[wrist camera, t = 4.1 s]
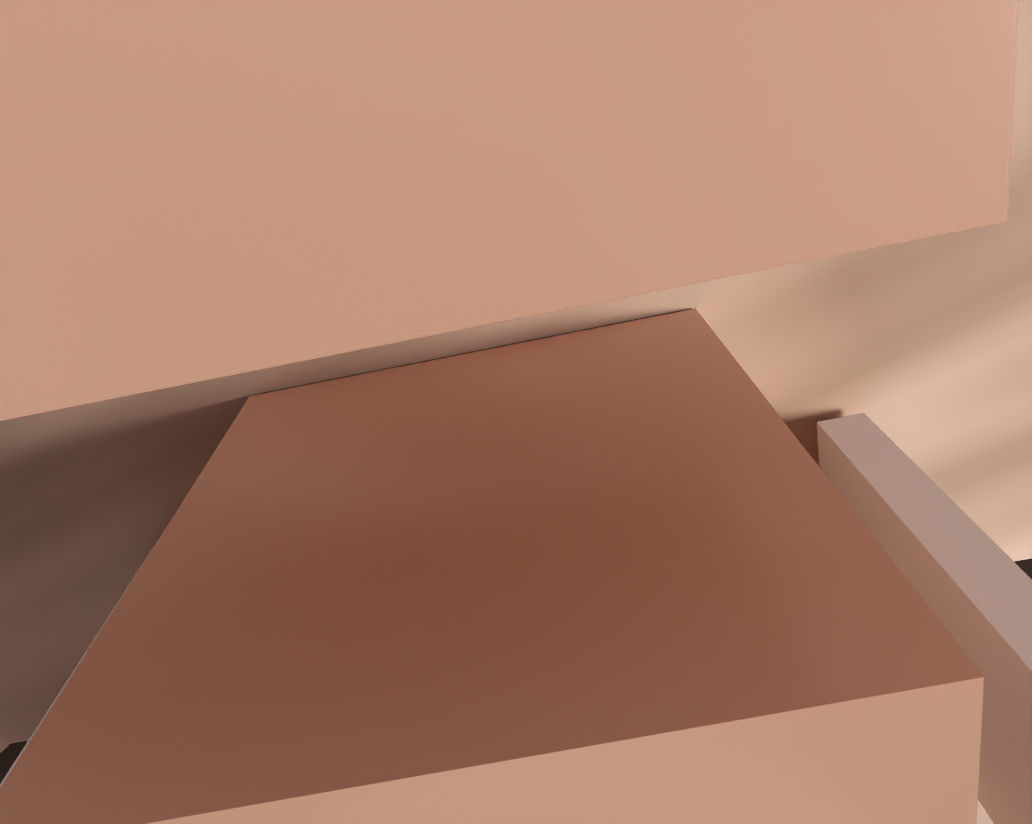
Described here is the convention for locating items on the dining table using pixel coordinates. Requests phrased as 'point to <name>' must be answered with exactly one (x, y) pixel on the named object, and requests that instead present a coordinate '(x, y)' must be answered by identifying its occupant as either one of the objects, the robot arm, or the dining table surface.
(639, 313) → the dining table surface
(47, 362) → the peach colored cube
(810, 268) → the dining table surface
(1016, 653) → the robot arm
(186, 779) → the cover mid
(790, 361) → the dining table surface
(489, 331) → the dining table surface
